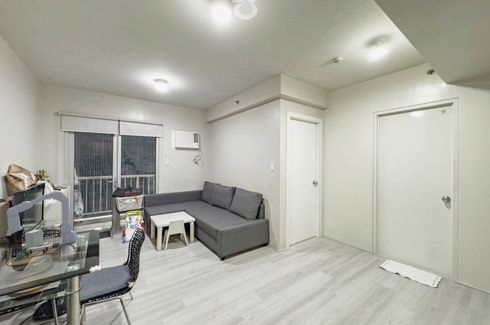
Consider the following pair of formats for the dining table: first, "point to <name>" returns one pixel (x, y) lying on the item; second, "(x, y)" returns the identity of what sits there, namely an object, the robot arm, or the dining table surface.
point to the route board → (34, 253)
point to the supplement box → (34, 238)
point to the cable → (43, 247)
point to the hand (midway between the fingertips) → (16, 241)
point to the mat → (50, 248)
